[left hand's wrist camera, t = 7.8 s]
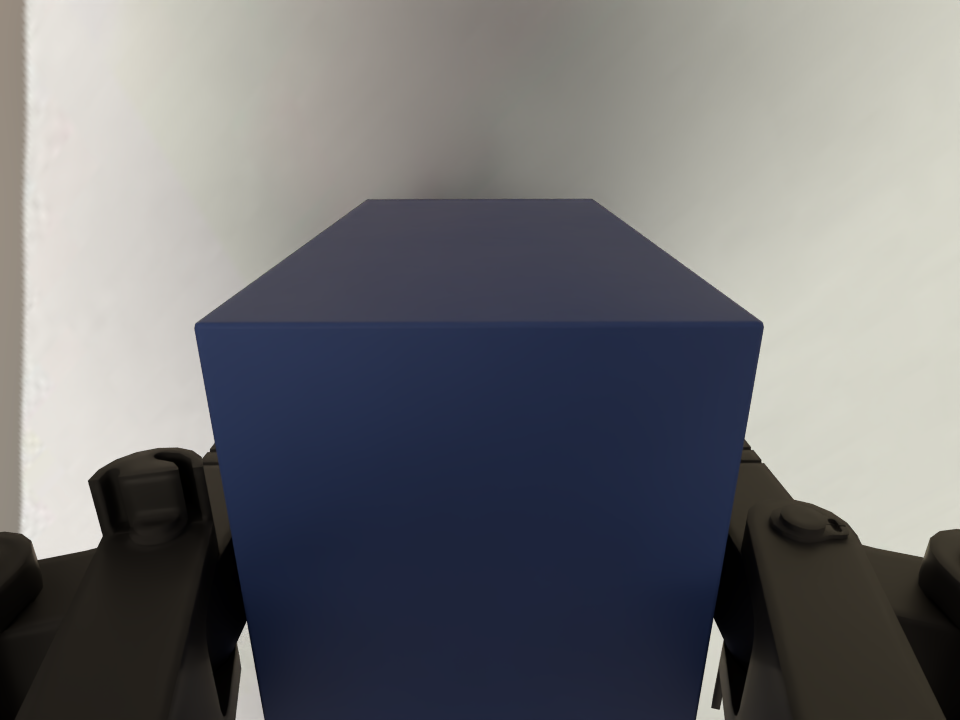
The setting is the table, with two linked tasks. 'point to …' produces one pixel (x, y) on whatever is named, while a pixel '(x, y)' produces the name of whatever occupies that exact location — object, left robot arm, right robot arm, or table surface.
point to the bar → (479, 464)
